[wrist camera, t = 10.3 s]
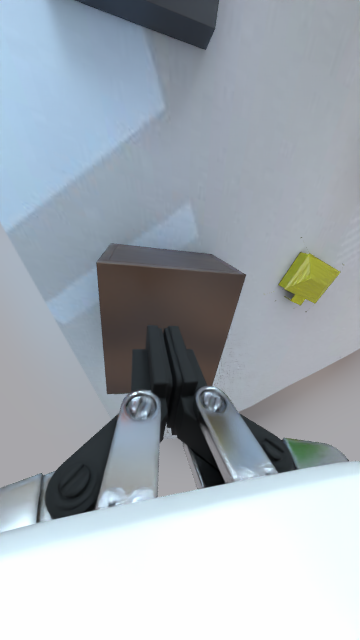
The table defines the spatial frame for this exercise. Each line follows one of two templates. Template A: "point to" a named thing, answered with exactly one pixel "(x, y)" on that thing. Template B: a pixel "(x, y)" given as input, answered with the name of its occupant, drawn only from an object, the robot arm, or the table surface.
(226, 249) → the table surface
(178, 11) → the control block
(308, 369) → the table surface
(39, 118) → the table surface
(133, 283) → the cabinet
